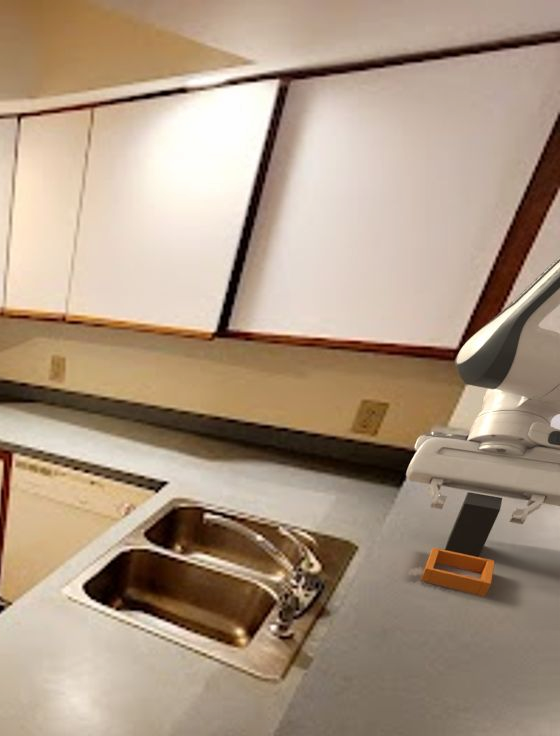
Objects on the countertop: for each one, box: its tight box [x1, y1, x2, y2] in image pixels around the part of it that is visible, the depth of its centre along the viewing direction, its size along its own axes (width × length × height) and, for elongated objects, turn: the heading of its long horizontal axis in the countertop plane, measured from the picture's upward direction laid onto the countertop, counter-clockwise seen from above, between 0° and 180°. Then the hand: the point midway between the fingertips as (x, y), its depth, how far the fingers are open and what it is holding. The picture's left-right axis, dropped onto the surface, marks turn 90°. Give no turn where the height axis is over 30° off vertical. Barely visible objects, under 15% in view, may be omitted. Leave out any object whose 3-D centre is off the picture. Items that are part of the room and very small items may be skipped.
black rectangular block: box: [444, 491, 503, 558], centre depth 99 cm, size 4×6×10 cm, turn 135°
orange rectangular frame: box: [420, 547, 496, 597], centre depth 93 cm, size 8×11×4 cm
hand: (475, 514), depth 100 cm, fingers open, 8 cm apart
